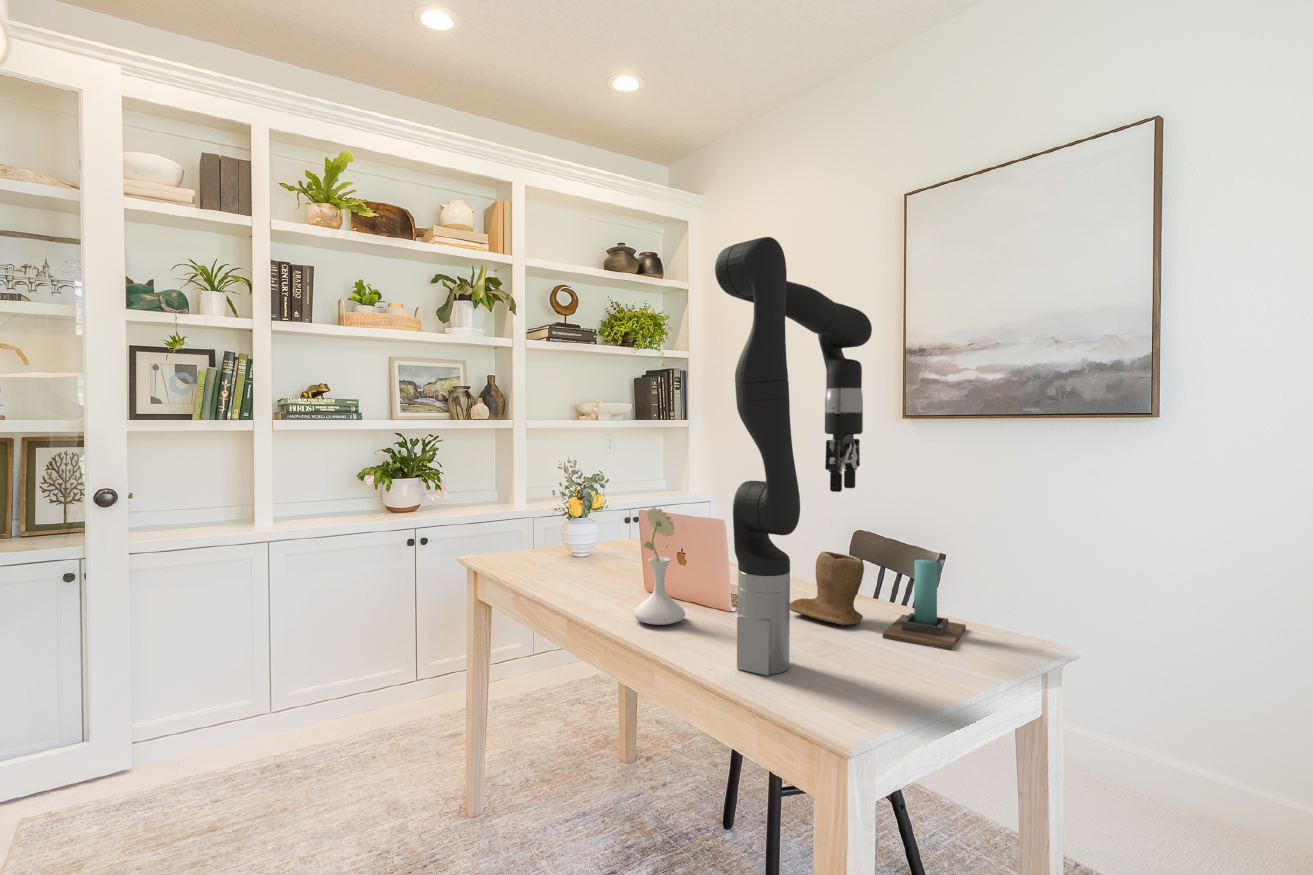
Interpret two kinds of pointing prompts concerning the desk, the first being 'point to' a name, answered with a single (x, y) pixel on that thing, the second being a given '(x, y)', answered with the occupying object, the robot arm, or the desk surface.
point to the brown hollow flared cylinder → (834, 590)
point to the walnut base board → (925, 632)
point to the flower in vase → (659, 578)
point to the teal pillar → (925, 592)
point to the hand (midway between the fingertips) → (842, 489)
